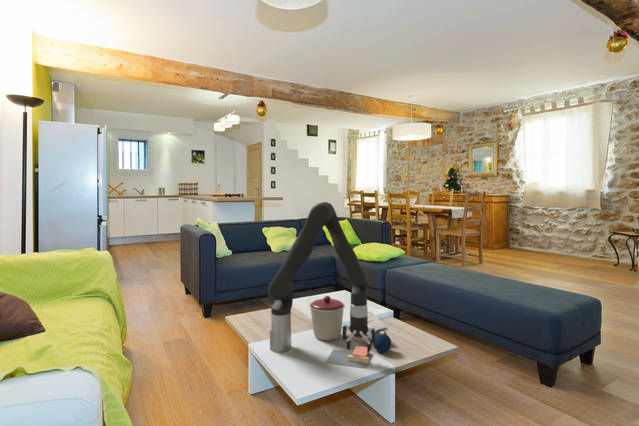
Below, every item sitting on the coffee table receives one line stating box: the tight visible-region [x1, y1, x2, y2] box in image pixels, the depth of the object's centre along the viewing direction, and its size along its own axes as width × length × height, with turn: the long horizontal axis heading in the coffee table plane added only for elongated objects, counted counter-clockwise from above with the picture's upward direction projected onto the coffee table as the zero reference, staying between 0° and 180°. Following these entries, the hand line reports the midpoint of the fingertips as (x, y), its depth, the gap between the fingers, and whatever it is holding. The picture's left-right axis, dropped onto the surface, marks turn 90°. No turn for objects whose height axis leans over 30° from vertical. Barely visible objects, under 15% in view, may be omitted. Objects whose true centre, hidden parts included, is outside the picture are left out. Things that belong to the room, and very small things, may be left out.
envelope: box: [368, 311, 387, 331], centre depth 206 cm, size 24×2×14 cm
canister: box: [308, 295, 346, 342], centre depth 186 cm, size 18×18×21 cm
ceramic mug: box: [362, 325, 388, 344], centre depth 180 cm, size 11×8×8 cm
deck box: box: [352, 345, 370, 357], centre depth 164 cm, size 6×2×8 cm
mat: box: [324, 349, 373, 370], centre depth 162 cm, size 18×14×2 cm
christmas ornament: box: [372, 331, 392, 353], centre depth 169 cm, size 8×8×10 cm
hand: (358, 350), depth 160 cm, fingers open, 8 cm apart
